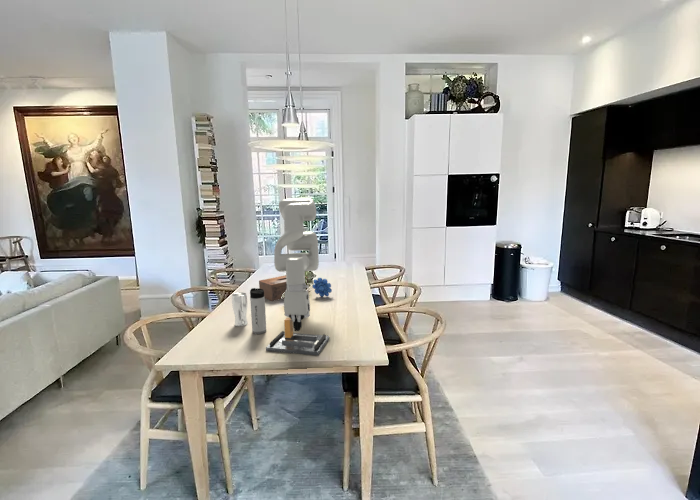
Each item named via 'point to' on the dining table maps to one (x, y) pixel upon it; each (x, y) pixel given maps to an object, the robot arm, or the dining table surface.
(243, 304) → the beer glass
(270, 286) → the tissue box cover
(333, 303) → the dining table surface
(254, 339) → the dining table surface
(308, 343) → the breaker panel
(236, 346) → the dining table surface
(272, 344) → the tray
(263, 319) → the travel mug
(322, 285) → the blue lobed wheel
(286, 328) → the lever
